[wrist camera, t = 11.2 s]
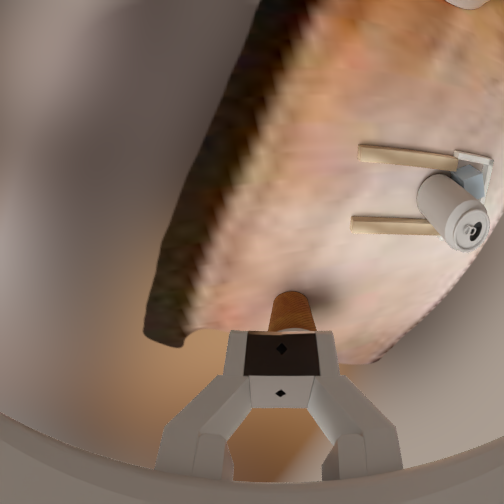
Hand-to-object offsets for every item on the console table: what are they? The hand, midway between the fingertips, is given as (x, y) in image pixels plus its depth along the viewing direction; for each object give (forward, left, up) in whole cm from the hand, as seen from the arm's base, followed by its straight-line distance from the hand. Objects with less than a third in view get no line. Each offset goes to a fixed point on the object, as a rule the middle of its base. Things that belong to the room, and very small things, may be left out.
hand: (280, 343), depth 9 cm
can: (+8, +25, -34) cm, 43 cm away
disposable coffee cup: (+30, +3, -34) cm, 46 cm away
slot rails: (+8, +19, -34) cm, 40 cm away
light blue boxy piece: (+5, +30, -34) cm, 46 cm away
